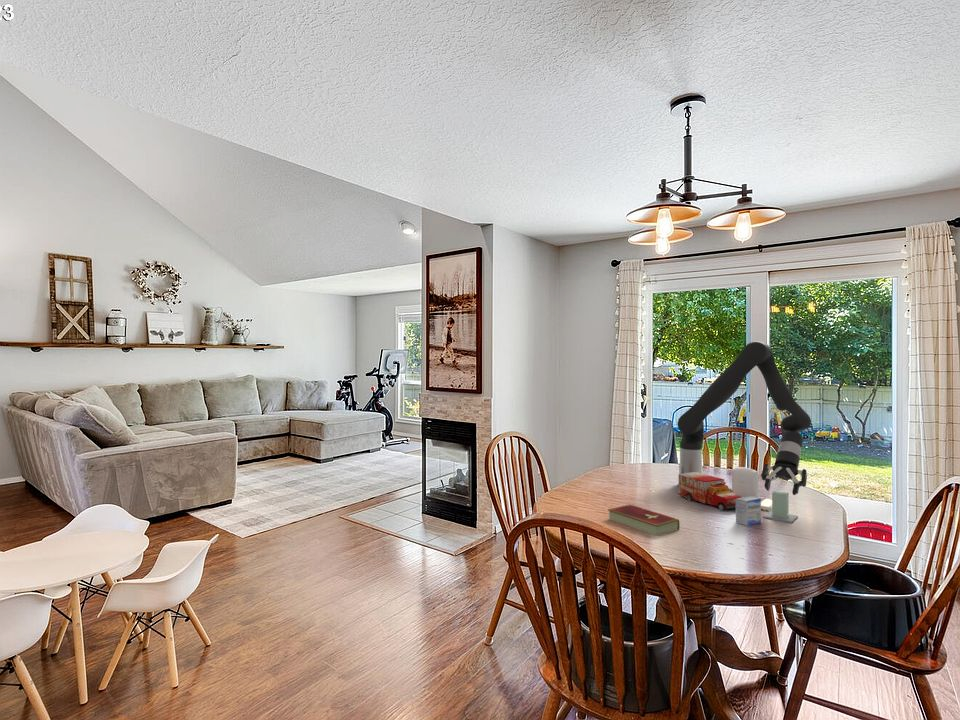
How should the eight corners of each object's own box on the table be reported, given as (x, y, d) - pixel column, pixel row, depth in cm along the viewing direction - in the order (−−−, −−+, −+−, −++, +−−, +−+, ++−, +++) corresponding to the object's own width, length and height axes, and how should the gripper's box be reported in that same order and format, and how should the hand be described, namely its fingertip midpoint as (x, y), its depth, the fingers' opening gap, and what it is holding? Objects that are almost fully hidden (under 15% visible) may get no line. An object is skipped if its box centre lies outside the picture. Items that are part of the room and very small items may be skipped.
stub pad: (763, 517, 181) (763, 516, 181) (770, 512, 187) (770, 510, 187) (791, 523, 175) (791, 521, 175) (797, 517, 181) (797, 515, 181)
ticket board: (757, 508, 192) (757, 504, 192) (765, 502, 200) (765, 498, 200) (771, 511, 188) (771, 507, 188) (780, 504, 197) (780, 500, 197)
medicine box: (747, 526, 171) (747, 501, 171) (735, 522, 175) (735, 498, 175) (761, 523, 175) (761, 498, 175) (749, 519, 179) (749, 495, 179)
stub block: (772, 515, 182) (772, 492, 182) (774, 513, 184) (774, 490, 184) (786, 518, 178) (786, 494, 178) (788, 516, 180) (788, 492, 181)
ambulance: (725, 513, 187) (725, 487, 187) (676, 496, 210) (676, 473, 210) (746, 510, 191) (746, 484, 191) (696, 494, 214) (696, 471, 214)
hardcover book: (630, 514, 186) (630, 503, 186) (679, 530, 168) (679, 518, 168) (607, 520, 180) (607, 508, 180) (656, 537, 162) (656, 524, 162)
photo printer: (730, 495, 211) (730, 466, 211) (734, 493, 214) (734, 465, 214) (755, 500, 203) (755, 470, 203) (760, 498, 206) (760, 469, 206)
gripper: (765, 447, 193) (756, 482, 185) (808, 452, 183) (801, 489, 175) (769, 459, 197) (760, 493, 188) (811, 464, 187) (804, 501, 178)
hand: (780, 491), depth 182 cm, fingers open, 8 cm apart
